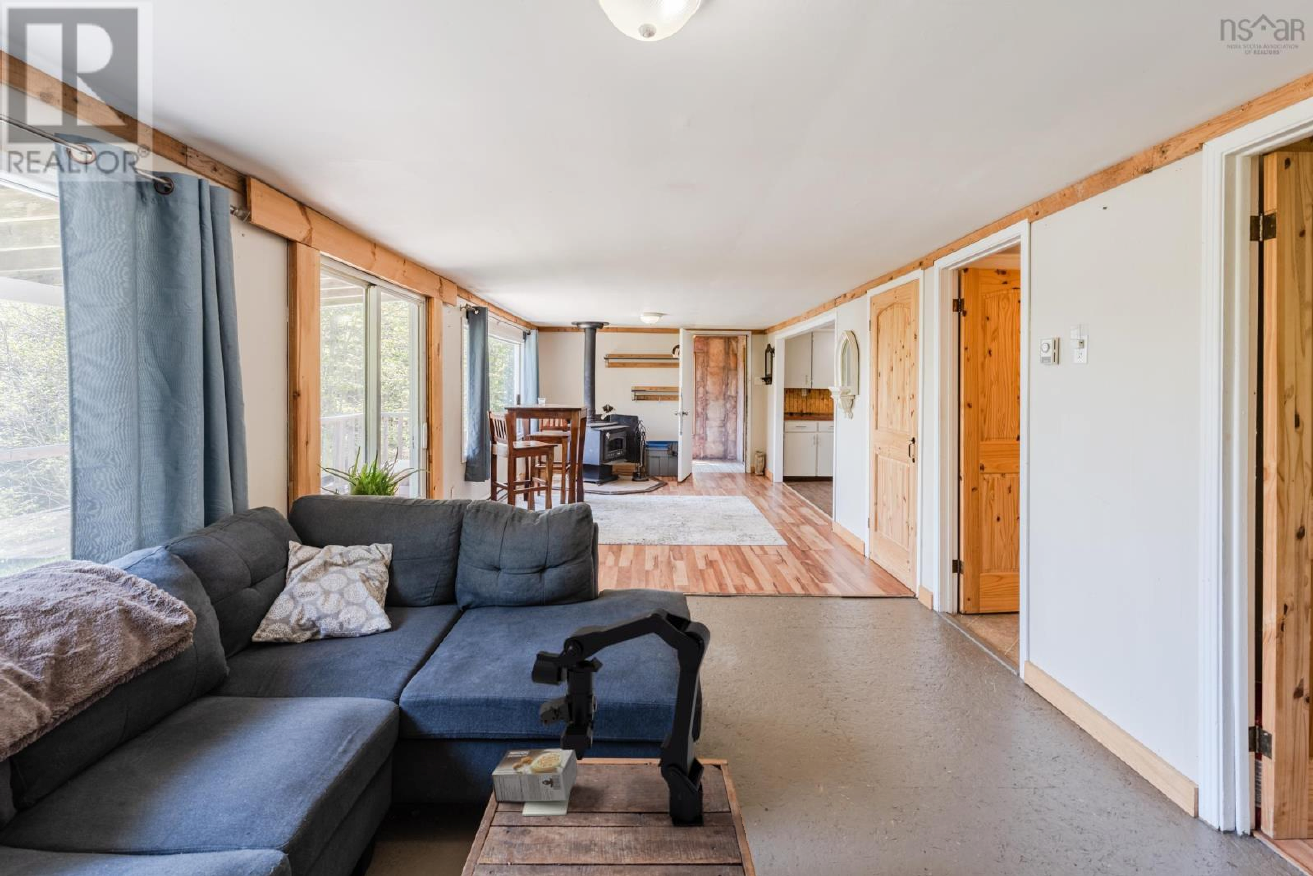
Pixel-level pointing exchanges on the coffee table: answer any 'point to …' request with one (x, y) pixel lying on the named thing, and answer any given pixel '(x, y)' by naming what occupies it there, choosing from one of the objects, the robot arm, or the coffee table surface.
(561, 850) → the coffee table surface
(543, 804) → the pad
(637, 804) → the coffee table surface
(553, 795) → the coffee box
